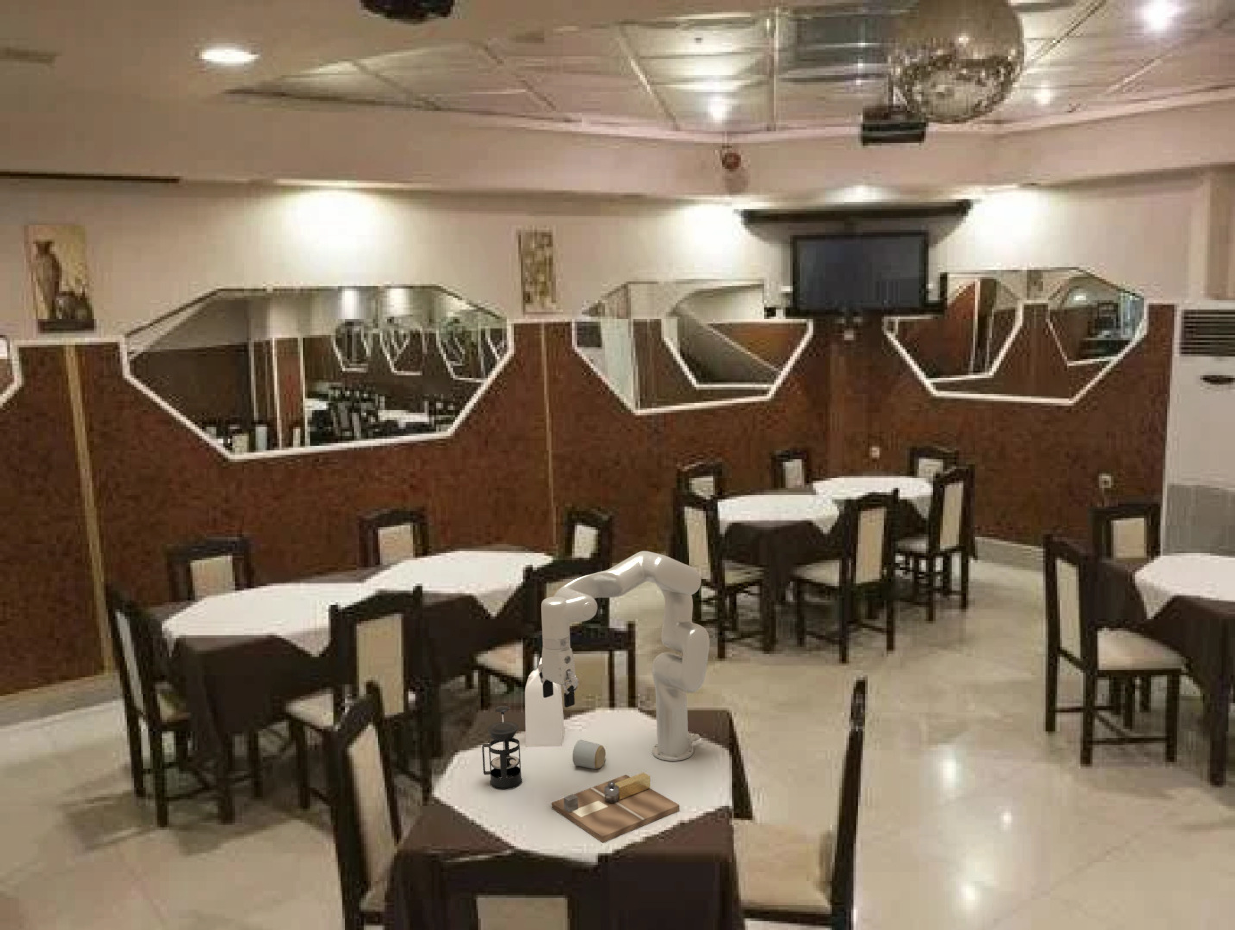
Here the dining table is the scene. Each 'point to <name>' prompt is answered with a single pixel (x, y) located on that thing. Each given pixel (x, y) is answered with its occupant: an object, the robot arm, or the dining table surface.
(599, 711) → the dining table surface
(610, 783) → the pin cap
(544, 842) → the dining table surface
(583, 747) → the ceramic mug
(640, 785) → the bar
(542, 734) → the milk
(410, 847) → the dining table surface
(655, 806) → the board
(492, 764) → the french press
